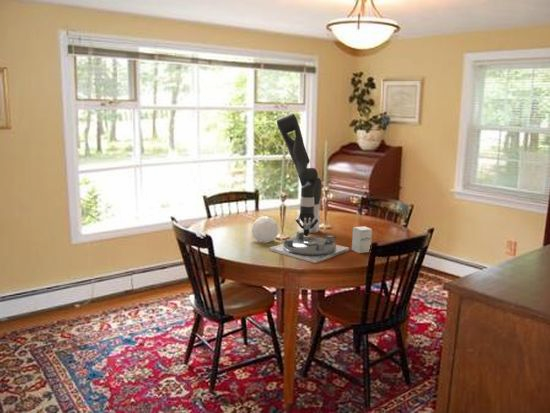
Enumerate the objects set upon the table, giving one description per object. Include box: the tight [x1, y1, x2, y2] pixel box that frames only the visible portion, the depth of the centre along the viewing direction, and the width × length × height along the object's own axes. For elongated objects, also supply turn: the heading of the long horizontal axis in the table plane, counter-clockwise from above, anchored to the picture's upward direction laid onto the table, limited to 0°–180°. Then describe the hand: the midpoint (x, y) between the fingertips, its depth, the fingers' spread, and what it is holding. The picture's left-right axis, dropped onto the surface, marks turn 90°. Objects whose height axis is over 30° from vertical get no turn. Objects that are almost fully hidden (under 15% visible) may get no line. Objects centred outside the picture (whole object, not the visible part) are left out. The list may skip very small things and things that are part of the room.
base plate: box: [268, 243, 350, 264], centre depth 265 cm, size 30×30×6 cm
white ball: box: [251, 215, 279, 244], centre depth 279 cm, size 14×15×15 cm
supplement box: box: [351, 225, 373, 254], centre depth 266 cm, size 7×7×13 cm
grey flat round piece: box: [282, 231, 337, 255], centre depth 265 cm, size 28×28×5 cm
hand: (306, 235), depth 276 cm, fingers closed
